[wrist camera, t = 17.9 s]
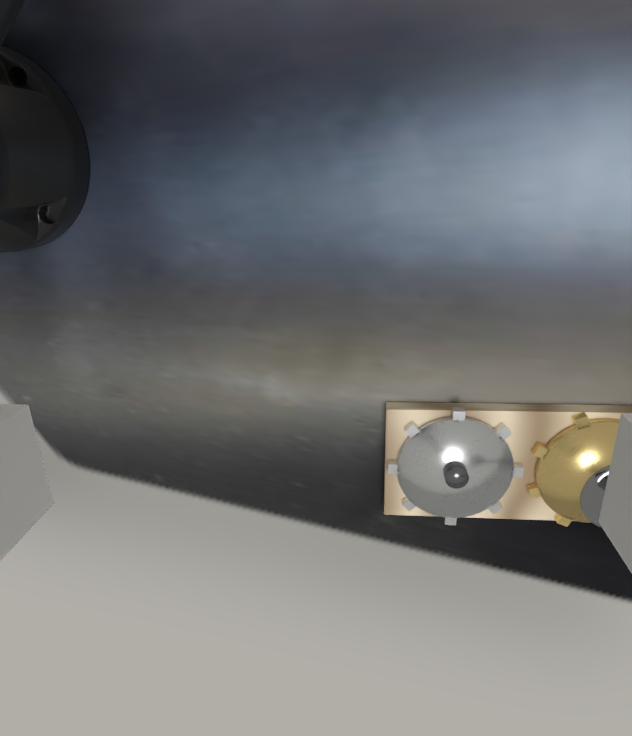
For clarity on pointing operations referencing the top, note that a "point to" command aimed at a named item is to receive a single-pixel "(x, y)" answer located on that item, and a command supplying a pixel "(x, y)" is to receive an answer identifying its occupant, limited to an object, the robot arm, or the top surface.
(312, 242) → the top surface
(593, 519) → the wine glass
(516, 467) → the gear board
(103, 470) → the top surface
